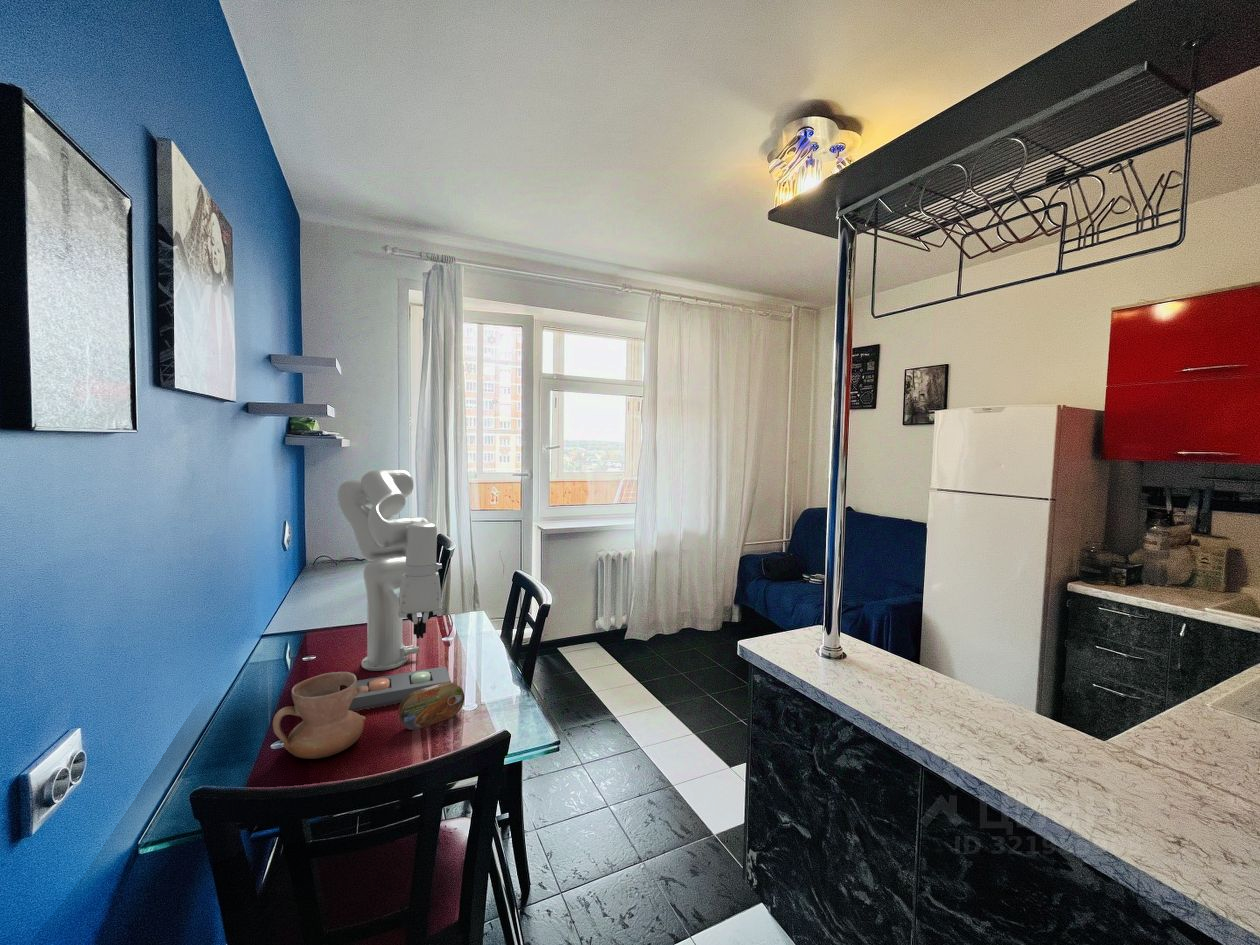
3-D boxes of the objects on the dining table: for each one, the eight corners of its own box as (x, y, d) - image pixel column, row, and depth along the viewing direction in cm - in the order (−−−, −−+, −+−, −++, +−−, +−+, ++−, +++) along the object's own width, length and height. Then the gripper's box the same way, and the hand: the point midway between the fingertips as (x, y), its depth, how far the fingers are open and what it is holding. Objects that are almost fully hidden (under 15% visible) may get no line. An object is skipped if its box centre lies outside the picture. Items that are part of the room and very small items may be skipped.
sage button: (429, 680, 141) (429, 670, 141) (431, 688, 137) (431, 677, 137) (410, 684, 139) (410, 673, 139) (411, 691, 135) (411, 680, 135)
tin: (400, 735, 118) (400, 699, 117) (396, 728, 120) (396, 693, 120) (464, 714, 127) (465, 681, 127) (459, 709, 130) (460, 676, 129)
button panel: (445, 678, 146) (445, 666, 146) (450, 693, 137) (450, 681, 137) (349, 695, 135) (349, 681, 135) (348, 713, 126) (347, 699, 126)
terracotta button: (389, 687, 137) (389, 676, 137) (389, 695, 133) (389, 684, 132) (368, 691, 135) (368, 680, 135) (369, 699, 130) (369, 688, 130)
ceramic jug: (363, 719, 123) (361, 661, 123) (376, 748, 112) (375, 684, 111) (271, 746, 112) (269, 683, 112) (276, 781, 101) (273, 711, 100)
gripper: (448, 563, 143) (446, 627, 145) (389, 567, 137) (388, 634, 138) (452, 571, 137) (450, 638, 138) (390, 575, 130) (389, 645, 131)
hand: (419, 636), depth 138 cm, fingers closed
